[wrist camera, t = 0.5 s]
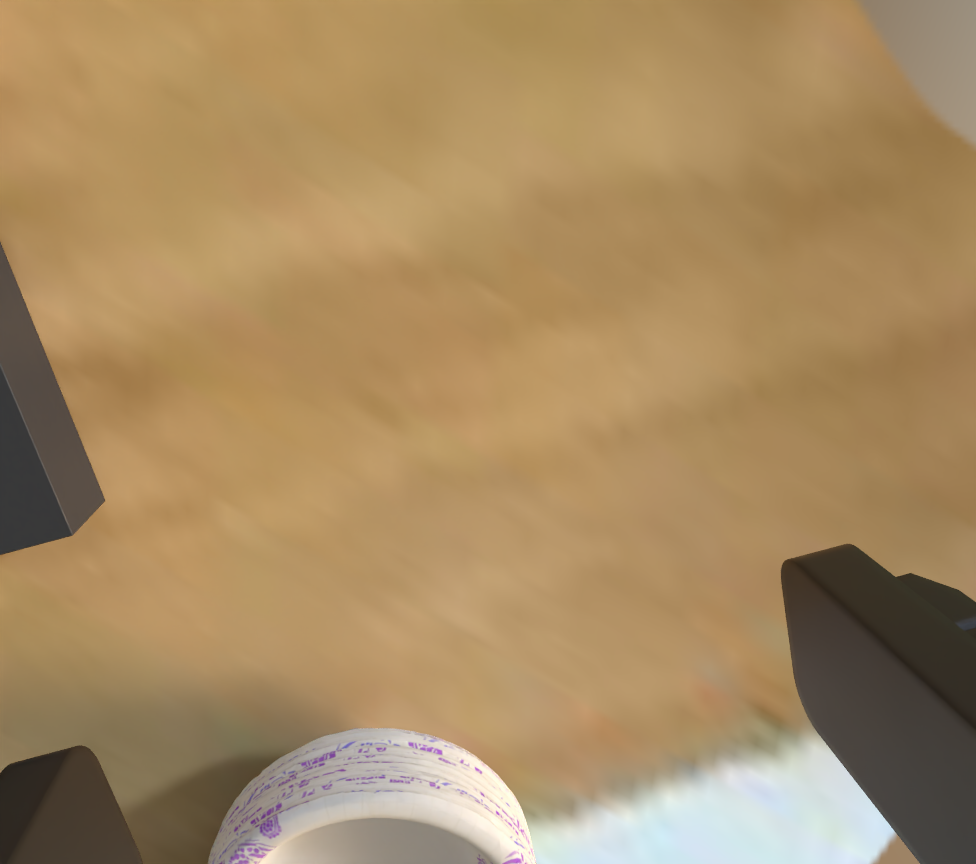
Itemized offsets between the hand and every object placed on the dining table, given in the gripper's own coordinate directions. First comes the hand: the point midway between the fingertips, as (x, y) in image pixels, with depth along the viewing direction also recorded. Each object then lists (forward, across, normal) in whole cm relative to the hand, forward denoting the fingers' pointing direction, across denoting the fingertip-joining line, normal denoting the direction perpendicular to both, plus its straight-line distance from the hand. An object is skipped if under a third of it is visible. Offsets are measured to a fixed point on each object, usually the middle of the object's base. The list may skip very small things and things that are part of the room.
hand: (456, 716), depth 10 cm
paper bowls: (+28, +8, +24) cm, 38 cm away
